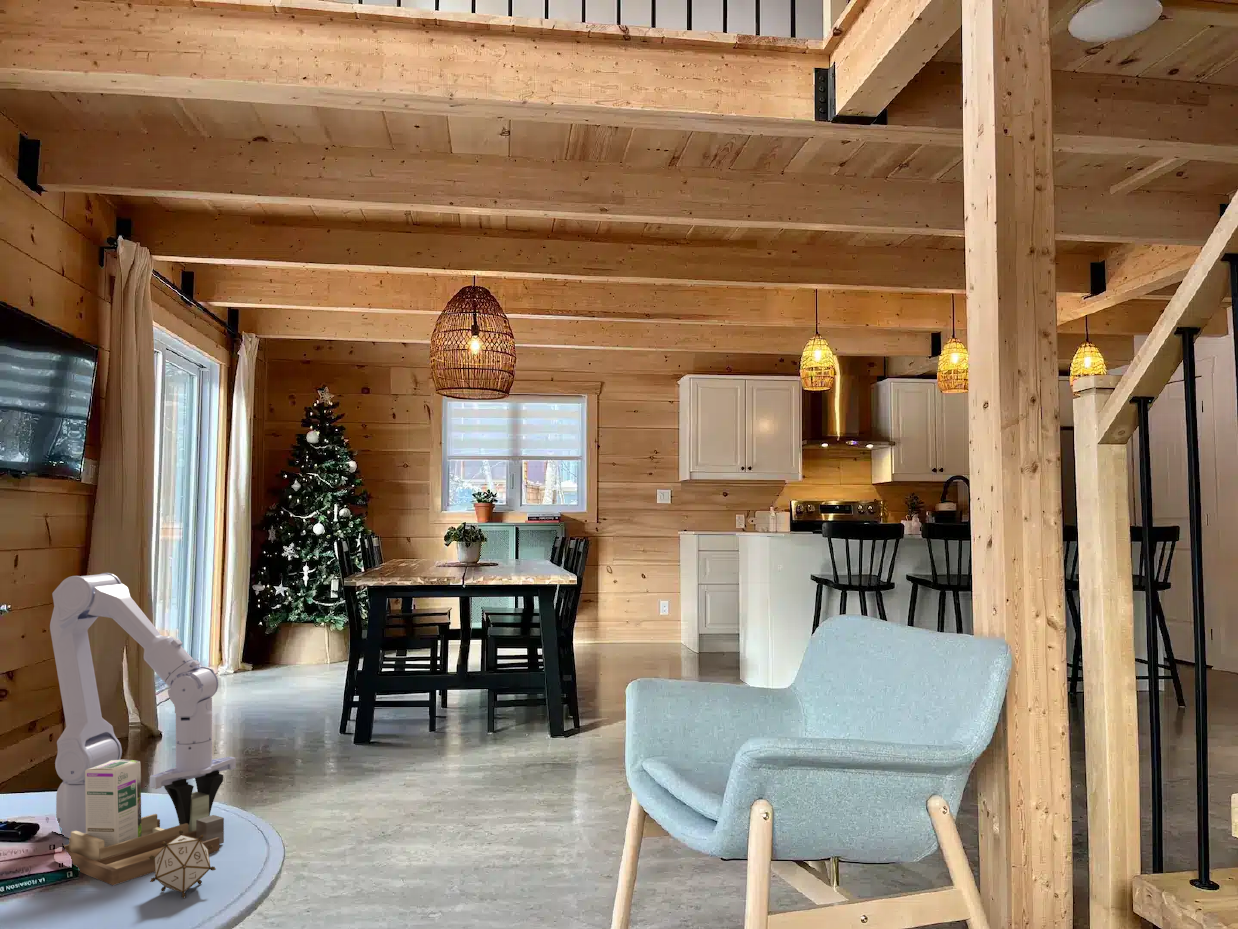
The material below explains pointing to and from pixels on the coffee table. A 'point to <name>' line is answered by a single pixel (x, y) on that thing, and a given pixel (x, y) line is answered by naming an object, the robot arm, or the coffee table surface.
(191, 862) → the game die
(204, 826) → the wooden bar
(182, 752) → the robot arm
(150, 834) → the wooden slotted tray
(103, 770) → the syrup box
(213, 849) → the lane board
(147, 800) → the coffee table surface
